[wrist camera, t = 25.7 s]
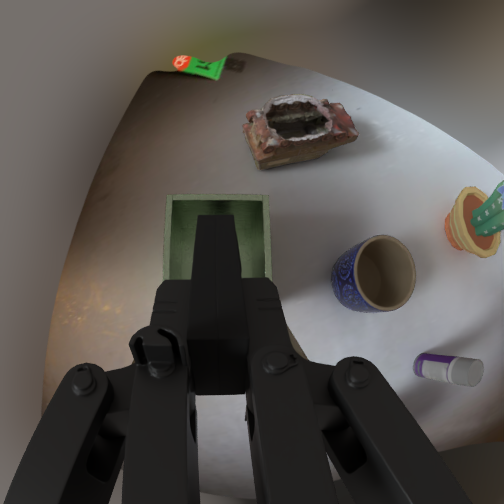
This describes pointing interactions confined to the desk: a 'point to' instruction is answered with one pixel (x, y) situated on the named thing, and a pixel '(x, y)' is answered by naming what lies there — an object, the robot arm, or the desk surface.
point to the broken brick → (296, 130)
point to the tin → (240, 205)
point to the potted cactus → (476, 221)
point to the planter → (374, 275)
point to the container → (449, 369)
